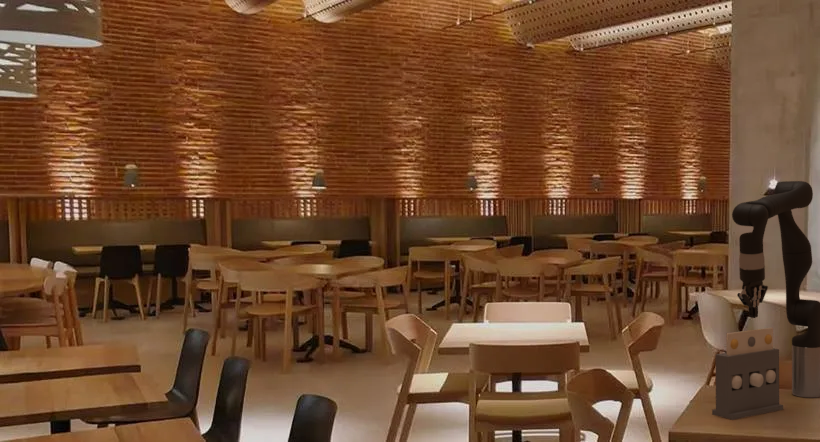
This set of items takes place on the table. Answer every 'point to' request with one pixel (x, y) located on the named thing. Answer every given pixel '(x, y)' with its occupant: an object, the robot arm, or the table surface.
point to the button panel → (746, 384)
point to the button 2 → (770, 376)
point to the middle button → (755, 379)
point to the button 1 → (736, 381)
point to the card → (749, 341)
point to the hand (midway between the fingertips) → (753, 317)
